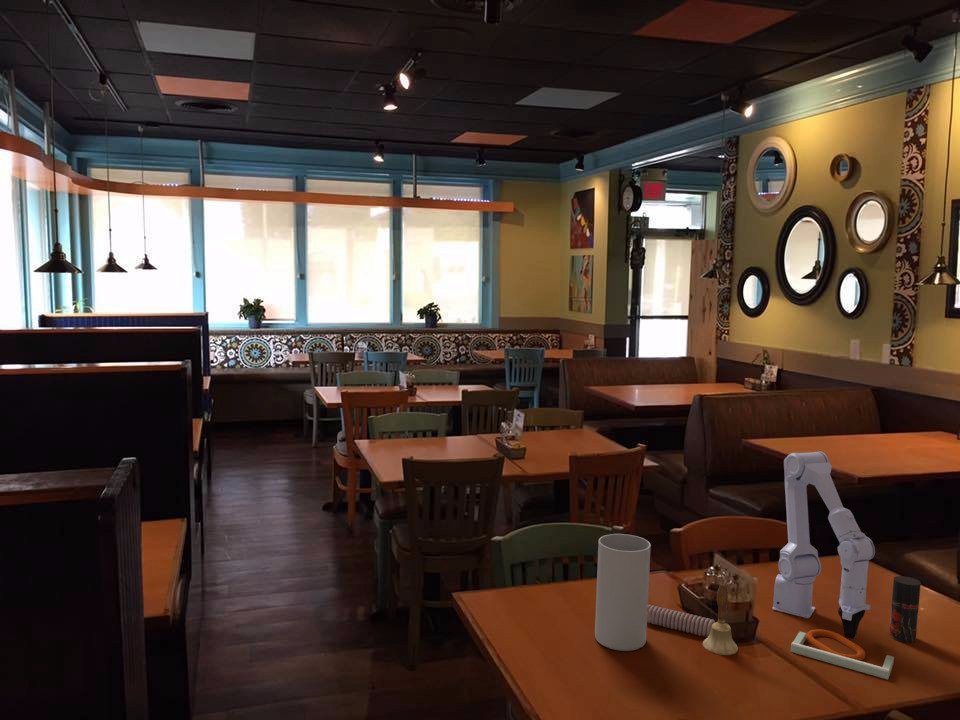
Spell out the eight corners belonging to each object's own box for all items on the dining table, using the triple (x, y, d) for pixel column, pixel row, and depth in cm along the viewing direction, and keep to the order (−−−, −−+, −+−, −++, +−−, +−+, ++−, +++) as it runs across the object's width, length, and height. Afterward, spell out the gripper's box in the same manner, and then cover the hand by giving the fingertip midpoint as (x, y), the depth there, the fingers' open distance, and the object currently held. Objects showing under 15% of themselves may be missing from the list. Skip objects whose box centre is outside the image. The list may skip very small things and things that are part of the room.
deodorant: (919, 644, 188) (924, 586, 187) (893, 641, 189) (898, 584, 188) (910, 633, 194) (915, 577, 192) (885, 630, 195) (890, 575, 193)
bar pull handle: (790, 651, 183) (791, 643, 183) (799, 638, 190) (799, 630, 190) (888, 679, 171) (888, 671, 170) (893, 664, 178) (893, 656, 178)
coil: (717, 617, 191) (648, 601, 200) (713, 622, 187) (642, 606, 196) (715, 635, 191) (646, 619, 200) (712, 641, 187) (641, 624, 196)
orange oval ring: (828, 626, 194) (875, 653, 180) (827, 632, 194) (874, 660, 180) (797, 630, 191) (842, 659, 177) (796, 637, 191) (842, 666, 177)
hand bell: (720, 658, 179) (723, 593, 177) (695, 643, 186) (698, 580, 185) (745, 651, 183) (749, 587, 181) (720, 636, 190) (723, 575, 188)
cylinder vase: (650, 635, 190) (655, 539, 187) (639, 657, 179) (644, 555, 176) (602, 624, 195) (606, 531, 192) (588, 645, 184) (592, 546, 181)
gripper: (866, 598, 179) (862, 653, 180) (876, 579, 191) (872, 631, 192) (834, 591, 183) (830, 644, 184) (845, 573, 195) (841, 623, 196)
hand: (849, 637), depth 188 cm, fingers closed
